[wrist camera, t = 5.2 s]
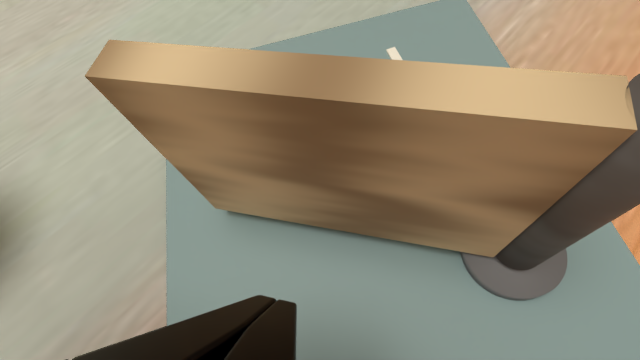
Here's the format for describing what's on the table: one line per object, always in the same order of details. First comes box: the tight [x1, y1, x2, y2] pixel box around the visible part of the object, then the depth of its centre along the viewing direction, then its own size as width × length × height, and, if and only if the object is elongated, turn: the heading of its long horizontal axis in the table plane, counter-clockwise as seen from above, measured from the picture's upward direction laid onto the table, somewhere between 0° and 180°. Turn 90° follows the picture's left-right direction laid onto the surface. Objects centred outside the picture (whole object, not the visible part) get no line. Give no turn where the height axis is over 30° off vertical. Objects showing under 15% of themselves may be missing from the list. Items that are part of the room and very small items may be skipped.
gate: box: [85, 40, 640, 270], centre depth 11 cm, size 13×2×8 cm, turn 77°
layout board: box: [166, 0, 640, 360], centre depth 16 cm, size 22×18×1 cm
